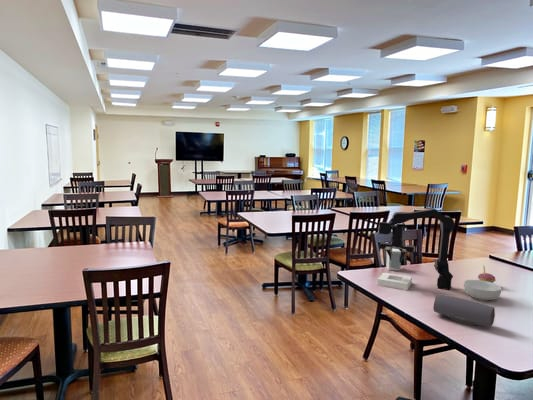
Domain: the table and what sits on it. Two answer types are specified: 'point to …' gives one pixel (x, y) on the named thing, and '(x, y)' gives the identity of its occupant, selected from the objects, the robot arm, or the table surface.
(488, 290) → the cereal bowl
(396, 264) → the dark grey square post
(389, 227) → the robot arm
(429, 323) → the table surface
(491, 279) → the cupcake
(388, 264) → the white rectangular block
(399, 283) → the square frame
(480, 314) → the bluetooth speaker
